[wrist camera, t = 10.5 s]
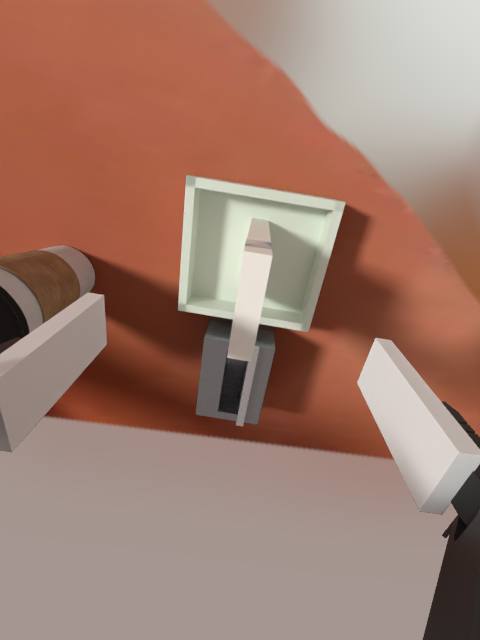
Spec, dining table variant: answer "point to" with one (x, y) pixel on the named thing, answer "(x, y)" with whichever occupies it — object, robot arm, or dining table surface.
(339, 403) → the dining table surface
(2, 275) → the coffee cup
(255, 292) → the white striped flat box
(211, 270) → the tray
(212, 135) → the dining table surface
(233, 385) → the dispenser
